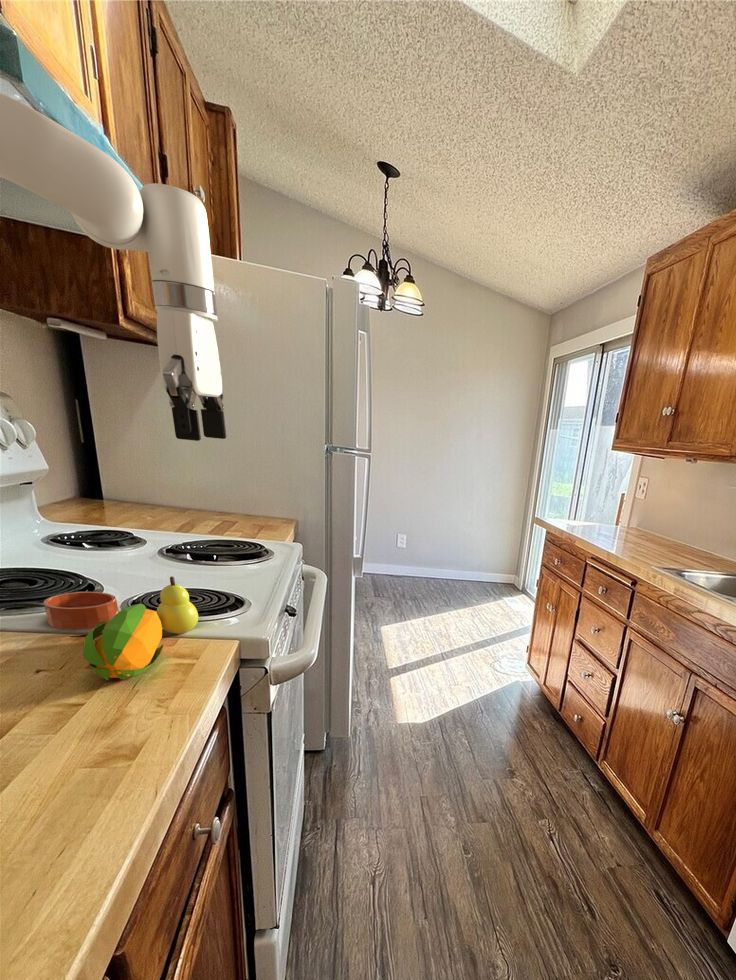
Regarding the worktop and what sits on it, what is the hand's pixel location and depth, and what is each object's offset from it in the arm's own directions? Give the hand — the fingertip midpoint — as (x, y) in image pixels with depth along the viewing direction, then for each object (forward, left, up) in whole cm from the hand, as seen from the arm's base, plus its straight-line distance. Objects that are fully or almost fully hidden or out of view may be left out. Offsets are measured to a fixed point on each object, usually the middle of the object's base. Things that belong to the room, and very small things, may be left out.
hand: (202, 438), depth 83 cm
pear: (-7, -6, -28) cm, 30 cm away
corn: (-15, -15, -28) cm, 35 cm away
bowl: (-19, +1, -28) cm, 34 cm away
